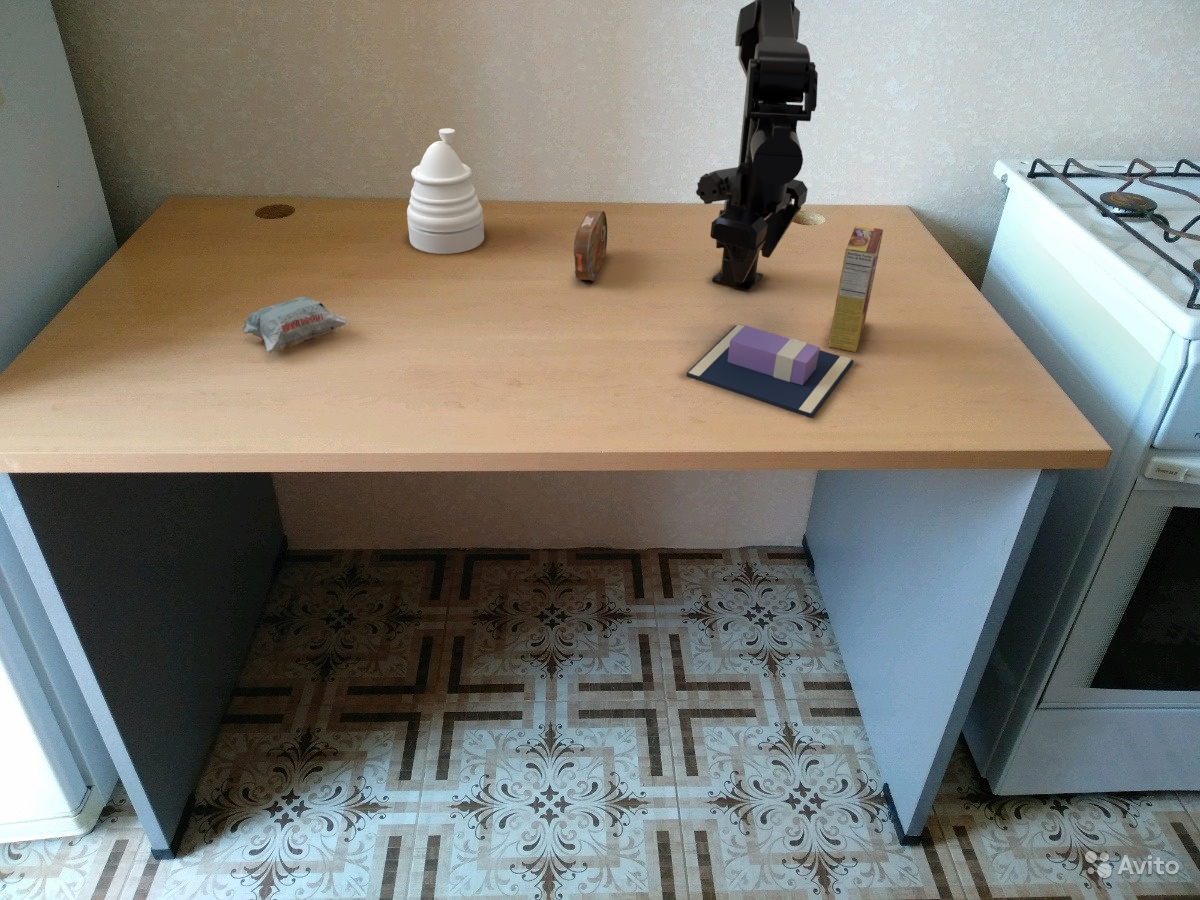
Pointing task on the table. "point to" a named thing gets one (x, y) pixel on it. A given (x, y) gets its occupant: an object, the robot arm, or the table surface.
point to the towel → (771, 379)
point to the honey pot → (444, 202)
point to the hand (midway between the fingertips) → (752, 269)
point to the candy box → (855, 287)
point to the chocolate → (773, 355)
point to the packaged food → (292, 323)
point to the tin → (590, 245)
